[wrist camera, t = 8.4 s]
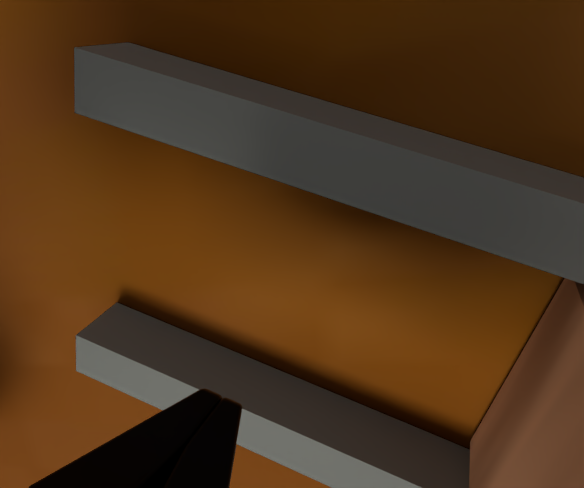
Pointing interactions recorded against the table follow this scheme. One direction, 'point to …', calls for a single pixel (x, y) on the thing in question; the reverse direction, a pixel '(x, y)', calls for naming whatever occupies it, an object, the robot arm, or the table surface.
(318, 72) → the table surface
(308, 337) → the table surface
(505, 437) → the block
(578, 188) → the chute
